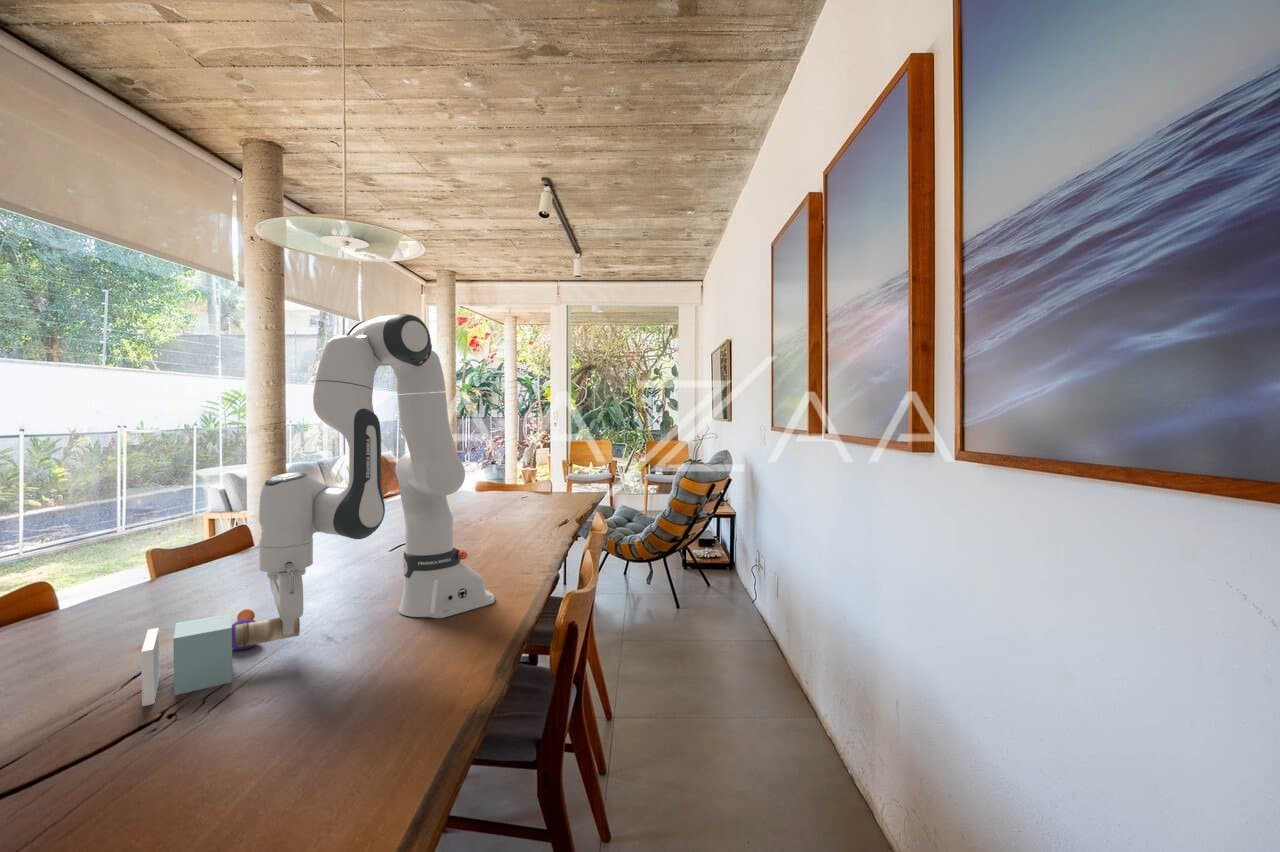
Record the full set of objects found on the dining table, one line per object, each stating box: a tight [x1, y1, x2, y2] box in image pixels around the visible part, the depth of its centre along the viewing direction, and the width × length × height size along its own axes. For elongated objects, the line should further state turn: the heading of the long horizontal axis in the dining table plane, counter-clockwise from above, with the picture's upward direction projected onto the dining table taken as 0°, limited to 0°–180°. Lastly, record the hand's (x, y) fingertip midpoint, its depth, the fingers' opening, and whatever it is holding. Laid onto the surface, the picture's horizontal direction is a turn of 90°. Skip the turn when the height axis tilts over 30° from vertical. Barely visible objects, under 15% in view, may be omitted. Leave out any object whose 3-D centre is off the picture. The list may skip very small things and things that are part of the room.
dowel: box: [235, 617, 301, 648], centre depth 108 cm, size 10×4×4 cm, turn 127°
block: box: [172, 613, 233, 696], centre depth 102 cm, size 8×9×10 cm
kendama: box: [231, 608, 257, 651], centre depth 122 cm, size 6×6×20 cm
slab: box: [140, 627, 161, 707], centre depth 98 cm, size 2×12×9 cm, turn 37°
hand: (286, 629), depth 110 cm, fingers closed on dowel, 4 cm apart
